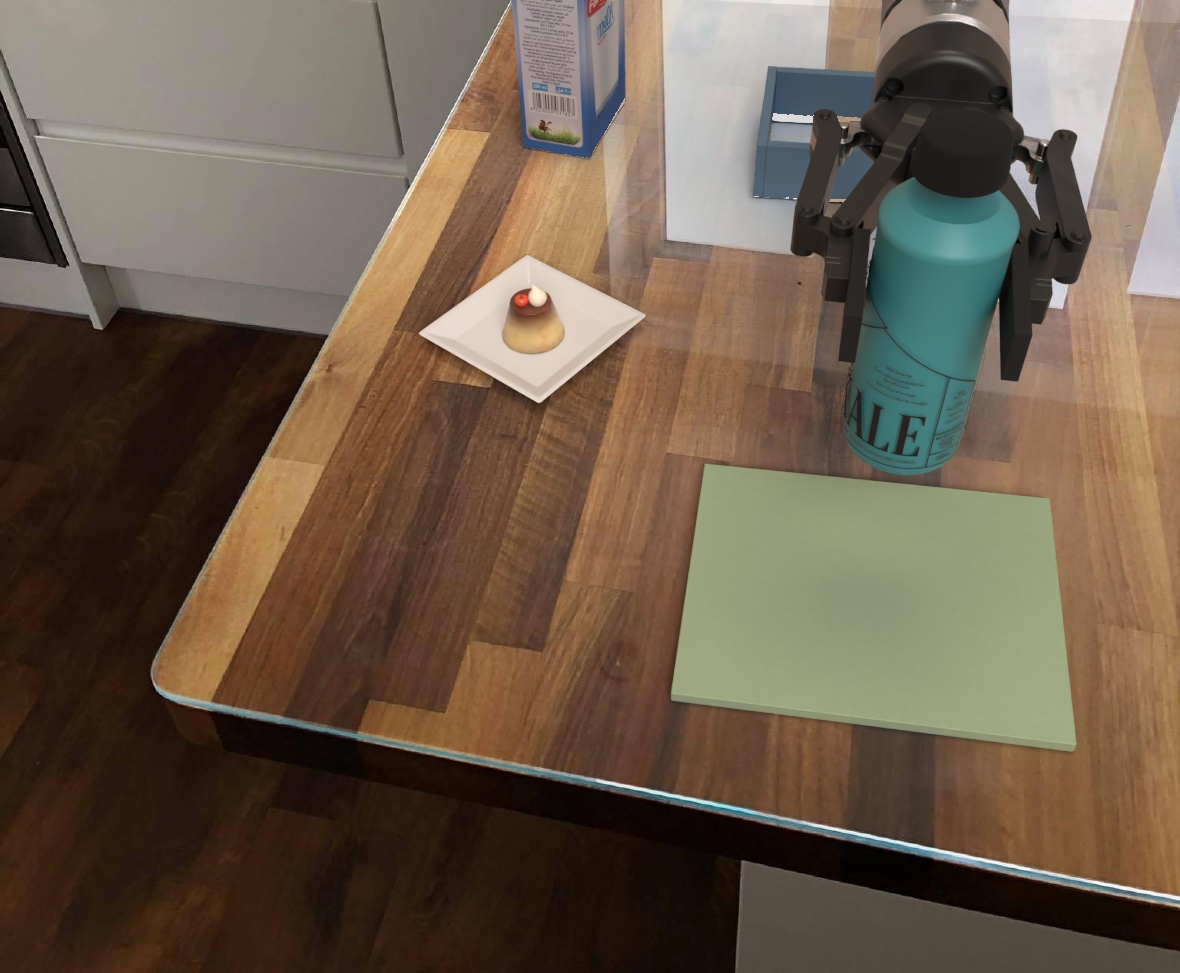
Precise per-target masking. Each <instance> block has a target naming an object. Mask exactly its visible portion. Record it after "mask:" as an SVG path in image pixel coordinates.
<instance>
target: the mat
mask: <svg viewBox="0 0 1180 973" xmlns="http://www.w3.org/2000/svg"><path fill="white" fill-rule="evenodd" d="M702 471H703V472H702V479H701V485H700V491H699V498H698V505H697V511H696V512H697V513H696V519H695V526H694V534H693V538H692V540H693V541H692V544H691V545H692V546H691V553H690V560H689V565H688V566H689V567H688V573H687V581H686V586H685V592H684V601H683V606H682V613H681V622H680V628H679V634H678V641H677V647H676V655H675V663H674V668H673V676H672V681H671V688H670V701H671V702H677V703H678V702H679V703H687V704H695V705H701V706H703V705H704V706H711V707H718V708H726V709H734V710H740V711H741V710H742V711H750V712H756V713H757V712H758V713H765V714H774V715H780V716H788V717H795V718H805V719H813V720H820V721H828V722H834V723H843V724H851V725H857V726H858V725H859V726H868V727H874V728H883V729H890V730H897V731H905V732H912V733H913V732H915V733H921V734H930V735H937V736H938V735H939V736H944V737H952V738H961V739H968V740H970V739H971V740H975V741H985V742H991V743H992V742H993V743H1000V744H1008V745H1016V746H1022V747H1030V748H1037V749H1038V748H1039V749H1046V750H1055V751H1063V752H1069V753H1070V752H1071V753H1073V752H1074V751H1075V749H1076V747H1077V745H1078V744H1077V743H1078V742H1077V736H1076V727H1075V716H1074V709H1073V699H1072V698H1073V697H1072V689H1071V688H1072V687H1071V679H1070V671H1069V662H1068V661H1069V660H1068V653H1067V652H1068V651H1067V643H1066V634H1065V625H1064V616H1063V607H1062V596H1061V589H1060V580H1059V571H1058V570H1059V569H1058V559H1057V552H1056V544H1055V543H1056V541H1055V535H1054V534H1055V533H1054V524H1053V514H1052V506H1051V499H1050V498H1049V497H1039V496H1029V495H1019V494H1009V493H999V492H991V491H990V492H989V491H980V490H972V489H971V490H970V489H960V488H951V487H950V488H949V487H940V486H930V485H921V484H911V483H900V482H891V481H882V480H871V479H862V478H861V479H860V478H851V477H841V476H831V475H822V474H812V473H802V472H801V473H800V472H794V471H793V472H791V471H781V470H774V469H773V470H772V469H763V468H762V469H761V468H751V467H744V466H743V467H742V466H732V465H723V464H713V463H704V465H703V470H702Z"/></svg>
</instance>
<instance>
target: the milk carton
mask: <svg viewBox="0 0 1180 973" xmlns="http://www.w3.org/2000/svg"><path fill="white" fill-rule="evenodd" d="M511 11H512V22H513V34H514V35H513V36H514V47H515V49H514V50H515V62H516V71H517V84H518V96H519V109H520V120H521V133H522V145H523V148H524V147H528V148H532V149H533V148H534V149H538V150H539V149H540V150H544V151H548V152H547V153H550V152H552V153H551V154H556V153H558V154H557V155H561V154H567V155H571V156H570V157H573V156H578V157H577V158H579V157H584V158H586V157H587V158H588V159H587V160H590V159H591V158H592V156H593V155H592V153H593V151H594V149H595V147H596V146H597V144H598V143H599V141H600V140H601V138H602V136H603V135H604V133H605V131H606V130H607V128H608V126H609V124H610V123H611V121H612V119H613V117H614V116H615V113H616V112H617V111H618V109H619V107H620V105H621V103H622V102H623V100H624V98H625V99H626V26H625V24H626V22H625V19H626V18H625V14H626V12H625V0H511ZM601 141H602V140H601ZM532 149H531V150H532ZM538 150H537V151H538ZM544 151H543V152H544ZM549 151H550V152H549ZM593 154H594V153H593ZM567 155H566V156H567ZM591 155H592V156H591ZM590 157H591V158H590ZM584 158H583V159H584Z"/></svg>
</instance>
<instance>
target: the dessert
mask: <svg viewBox="0 0 1180 973" xmlns="http://www.w3.org/2000/svg"><path fill="white" fill-rule="evenodd" d="M646 316H647V315H646V313H644V312H642V311H639V310H638V309H635V308H633V307H632V306H630V305H627V304H626V303H624V302H622V301H620V300H618V299H616V298H614V297H612V296H610V295H608V294H606V293H604V292H602V291H600V290H598V289H596V288H594V287H592V286H590V285H588V284H586V283H584V282H583V281H580V280H578V279H576V278H574V277H572V276H570V275H568V274H566V273H565V272H563V271H561V270H558V269H556V268H555V267H554V266H553V267H552V266H551V265H549V264H547V263H545V262H544V261H541V260H539V259H537V258H535V257H533V256H531V255H529V254H525V255H524V256H522V257H521V258H520V259H518V260H517V261H516V262H515V263H513V264H511V265H510V266H509V267H507V268H506V269H505V270H503V271H502V272H500V273H498V275H496V276H495V277H493V278H492V279H491V280H490V281H488V282H487V283H485V284H484V285H483V286H481V287H480V288H478V289H477V290H476V291H474V292H473V293H471V294H470V295H469V296H467V297H466V298H465V299H463V300H462V301H461V302H459V303H457V304H456V305H455V306H454V307H452V308H450V310H448V311H446V312H445V313H444V314H442V315H441V316H439V317H438V318H437V319H436V320H434V321H432V323H430V324H428V325H427V326H425V327H424V328H423V329H421V330H420V331H419V332H418V335H419V336H421V337H423V338H425V339H427V341H430V342H432V343H433V344H435V345H437V346H439V347H440V348H442V349H444V350H446V351H447V352H449V353H451V354H452V355H454V356H456V357H458V358H459V359H461V360H463V361H464V362H466V363H468V364H469V365H471V366H473V367H475V368H476V369H478V370H480V371H482V372H483V373H485V374H487V375H489V376H490V377H491V378H494V379H496V380H497V381H499V382H501V383H502V384H504V385H506V386H508V387H510V389H513V390H515V391H516V392H518V393H520V394H522V395H524V396H525V397H527V398H528V399H530V400H533V401H534V402H536V403H538V404H540V403H542V402H544V400H545V399H547V398H548V397H550V396H551V395H552V394H553V393H554V392H555V391H557V390H558V389H559V388H560V387H562V386H563V385H564V384H565V383H566V382H568V381H569V380H570V379H572V377H574V376H575V375H576V374H578V373H579V372H580V371H581V370H582V369H583V368H585V367H586V366H587V365H588V364H589V363H591V362H592V361H593V360H594V359H596V358H597V357H598V356H599V355H601V354H602V353H603V352H604V351H605V350H607V349H608V348H609V347H610V346H612V345H613V344H614V343H615V342H617V341H618V340H619V339H621V337H623V336H624V335H625V334H627V332H629V331H630V330H631V329H633V328H634V327H635V326H636V325H637V324H638V323H640V322H641V321H643V319H644V318H646Z"/></svg>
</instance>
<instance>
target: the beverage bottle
mask: <svg viewBox="0 0 1180 973" xmlns="http://www.w3.org/2000/svg"><path fill="white" fill-rule="evenodd" d="M1013 144H1014V136H1013V132H1012V130H1011V129H1010V127H1009V126H1008V125H1007V124H1006V123H1005V122H1004V121H1003V120H1001V119H1000V118H998V117H996V116H994V115H992V114H989V113H986V112H983V111H979V110H973V109H949V110H944V111H941V112H938V113H935V114H933V115H932V116H930V117H929V118H928V119H927V120H926V121H925V122H924V124H923V126H922V127H921V130H920V134H919V137H918V141H917V144H916V148H915V149H914V152H913V155H912V160H911V166H910V167H911V172H912V174H913V176H914V177H913V178H911V179H909V180H907V181H905V182H903V183H901V184H899V185H898V186H896V187H895V188H893V189H892V190H891V191H889V192H888V193H887V194H886V196H885V197H884V198H883V200H882V202H881V204H880V206H879V210H878V215H877V218H878V225H877V227H876V231H875V237H873V238H872V239H871V241H870V245H869V247H871V245H872V242H873V241H874V244H873V248H872V252H871V257H870V260H868V267H867V277H866V288H865V298H864V309H863V318H862V324H861V330H860V336H859V341H858V347H857V353H856V359H855V363H851V364H850V365H849V367H848V370H847V376H846V377H847V378H846V379H847V381H846V382H845V388H844V391H845V392H844V394H843V397H844V398H843V399H842V404H843V405H842V408H841V414H840V415H841V416H840V419H839V421H840V424H842V425H840V427H841V431H842V433H843V435H844V438H845V441H846V443H847V446H848V447H849V449H850V450H851V451H852V453H853V454H854V455H855V456H856V457H857V458H858V459H860V460H861V461H862V462H863V463H865V464H867V465H868V466H870V467H872V468H874V469H876V470H879V471H882V472H885V473H889V474H893V475H899V476H918V475H924V474H927V473H930V472H933V471H935V470H937V469H940V468H941V467H943V466H944V465H945V464H946V463H947V462H949V461H950V460H951V459H952V458H953V457H954V456H955V454H956V452H957V450H958V448H959V447H960V445H961V441H962V437H963V433H964V429H966V430H967V425H968V422H969V420H967V419H970V418H969V417H970V416H969V415H970V414H971V410H972V407H973V405H971V404H973V402H974V401H972V400H974V398H975V396H976V392H977V390H975V389H977V388H978V384H979V381H980V379H978V378H980V377H981V375H979V374H981V373H982V369H983V366H984V364H982V363H984V362H985V360H983V359H985V358H986V356H984V355H985V349H986V344H987V341H988V338H989V335H990V330H991V327H992V323H993V320H994V316H995V312H996V310H997V305H998V303H999V295H1000V292H1001V288H1002V285H1003V281H1004V277H1005V274H1006V270H1007V267H1008V263H1009V260H1010V256H1011V253H1012V249H1013V246H1014V244H1015V242H1016V240H1017V237H1018V234H1019V230H1020V223H1019V217H1018V214H1017V212H1016V210H1015V208H1014V207H1013V205H1012V204H1011V203H1010V201H1009V200H1008V199H1007V198H1006V197H1005V196H1004V195H1003V194H1002V193H1001V192H1000V191H999V190H1000V189H1001V188H1002V187H1003V186H1004V185H1005V184H1006V182H1007V180H1008V176H1009V172H1010V173H1011V167H1012V164H1011V156H1012V150H1013ZM983 357H984V358H983ZM982 361H983V362H982ZM848 379H849V380H848ZM969 410H970V411H969ZM842 413H843V414H842ZM842 415H843V416H842Z"/></svg>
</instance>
